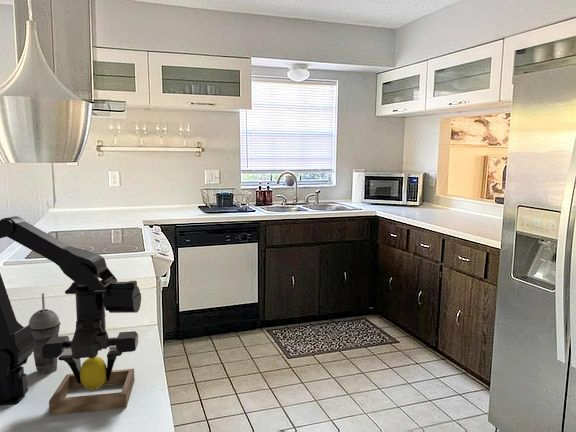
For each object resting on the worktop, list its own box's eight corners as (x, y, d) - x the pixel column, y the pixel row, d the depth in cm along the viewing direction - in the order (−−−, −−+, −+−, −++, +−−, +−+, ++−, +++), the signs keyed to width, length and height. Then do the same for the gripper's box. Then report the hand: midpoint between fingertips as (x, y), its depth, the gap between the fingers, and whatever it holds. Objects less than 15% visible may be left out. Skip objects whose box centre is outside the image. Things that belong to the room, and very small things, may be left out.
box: (49, 415, 95) (48, 401, 95) (67, 386, 108) (66, 374, 107) (126, 407, 98) (125, 393, 97) (134, 380, 110) (134, 368, 110)
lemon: (81, 387, 104) (80, 352, 103) (108, 383, 106) (106, 349, 105) (80, 398, 99) (78, 362, 98) (107, 394, 101) (106, 358, 100)
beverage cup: (60, 362, 122) (56, 287, 120) (65, 371, 116) (60, 293, 114) (28, 369, 118) (23, 291, 116) (32, 379, 112) (27, 298, 110)
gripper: (31, 327, 91) (35, 403, 93) (130, 321, 95) (133, 394, 96) (49, 311, 102) (52, 379, 104) (137, 306, 106) (139, 372, 107)
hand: (94, 381), depth 102 cm, fingers closed on lemon, 5 cm apart
